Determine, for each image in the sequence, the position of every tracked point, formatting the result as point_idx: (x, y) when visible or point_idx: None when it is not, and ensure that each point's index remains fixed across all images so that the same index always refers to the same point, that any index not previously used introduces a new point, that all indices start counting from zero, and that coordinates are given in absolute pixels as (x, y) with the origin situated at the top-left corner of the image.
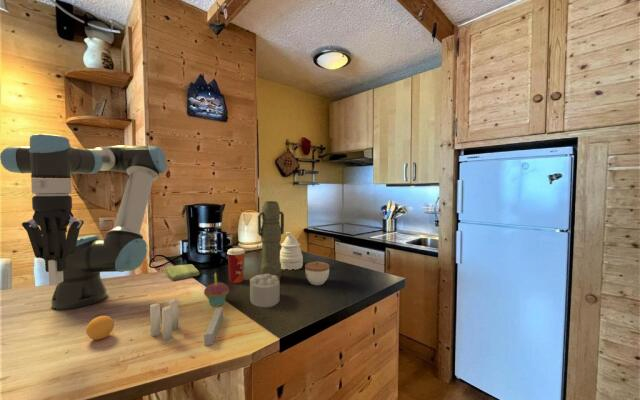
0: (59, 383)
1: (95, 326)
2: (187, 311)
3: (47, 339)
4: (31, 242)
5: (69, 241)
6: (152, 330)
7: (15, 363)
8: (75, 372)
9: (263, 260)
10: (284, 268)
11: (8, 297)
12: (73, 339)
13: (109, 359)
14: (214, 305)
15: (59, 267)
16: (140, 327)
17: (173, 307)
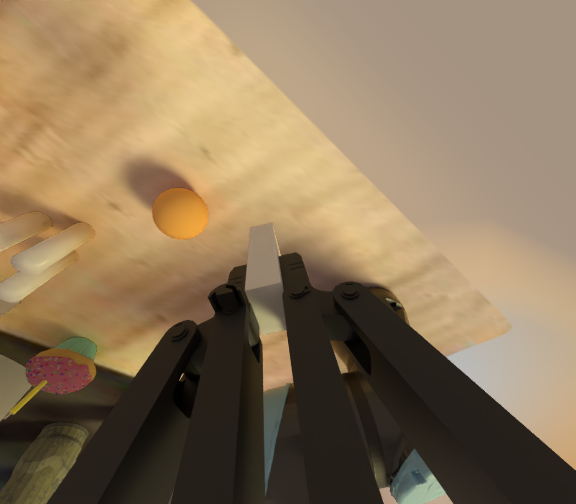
0: (87, 26)
1: (164, 197)
2: (110, 312)
3: (294, 192)
4: (464, 384)
5: (77, 478)
6: (72, 227)
7: (271, 103)
8: (99, 74)
9: (39, 480)
10: (74, 462)
11: (493, 310)
12: (241, 197)
13: (78, 129)
14: (75, 337)
15: (239, 277)
16: (146, 250)
17: (9, 277)
